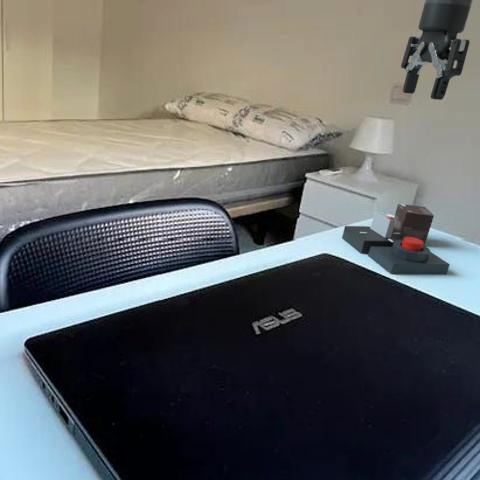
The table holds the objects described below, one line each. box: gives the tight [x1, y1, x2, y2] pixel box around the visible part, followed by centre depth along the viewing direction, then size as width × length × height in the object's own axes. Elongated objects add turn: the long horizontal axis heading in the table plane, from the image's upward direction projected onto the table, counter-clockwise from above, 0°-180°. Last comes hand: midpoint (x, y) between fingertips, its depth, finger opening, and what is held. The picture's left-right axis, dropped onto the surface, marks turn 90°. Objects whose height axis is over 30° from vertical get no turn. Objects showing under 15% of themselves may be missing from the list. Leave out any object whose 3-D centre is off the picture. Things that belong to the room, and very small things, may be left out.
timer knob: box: [370, 210, 396, 238], centre depth 105 cm, size 5×1×4 cm, turn 14°
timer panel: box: [341, 224, 409, 255], centre depth 106 cm, size 12×9×3 cm
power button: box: [402, 237, 424, 251], centre depth 97 cm, size 4×4×2 cm
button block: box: [367, 240, 451, 275], centre depth 98 cm, size 12×8×4 cm, turn 99°
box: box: [393, 203, 435, 246], centre depth 110 cm, size 6×6×7 cm
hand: (421, 96), depth 96 cm, fingers open, 8 cm apart
